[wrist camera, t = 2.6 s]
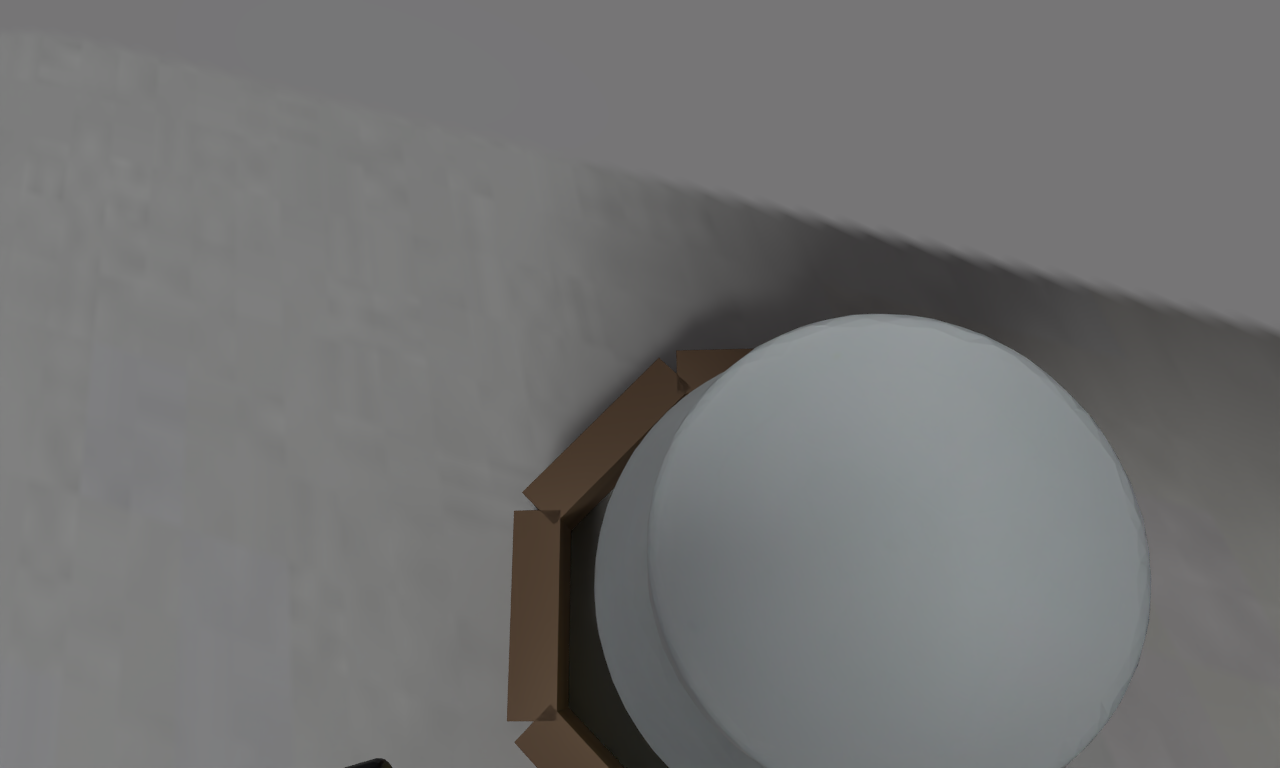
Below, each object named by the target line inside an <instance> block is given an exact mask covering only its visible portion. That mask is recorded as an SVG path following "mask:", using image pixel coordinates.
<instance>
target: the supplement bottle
mask: <svg viewBox="0 0 1280 768" xmlns="http://www.w3.org/2000/svg"><path fill="white" fill-rule="evenodd" d="M594 592H595V608H596V619H597V625H598V632H599V637H600V641H601V644H602V648H603V652H604V656H605V659H606V662H607V666H608V669H609V672H610V675H611V678H612V681H613V683H614V685H615V687H616V689H617V692H618V694H619V696H620V698H621V700H622V702H623V704H624V706H625V709H626V710H627V712H628V714H629V715H630V717H631V719H632V720H633V722H634V724H635V725H636V727H637V728H638V730H639V732H640V733H641V734H642V736H643V737H644V739H645V740H646V741H647V743H648V744H649V745H650V747H651V748H652V750H653V751H654V752H655V753H656V754H657V755H658V756H659V757H660V758H661V760H662V761H663V762H664V763H665V764H666V765H667V766H668V767H669V768H1064V767H1065V766H1066V765H1067V764H1069V763H1070V762H1071V761H1072V760H1073V759H1074V758H1075V757H1076V756H1077V755H1078V754H1080V753H1081V752H1082V751H1083V750H1084V749H1085V748H1086V747H1087V746H1088V745H1089V744H1090V743H1091V741H1092V740H1093V739H1094V738H1095V737H1096V735H1097V734H1098V733H1099V732H1100V731H1101V730H1102V728H1103V727H1104V726H1105V725H1106V723H1107V722H1108V721H1109V719H1110V718H1111V716H1112V715H1113V713H1114V712H1115V710H1116V708H1117V707H1118V705H1119V704H1120V702H1121V700H1122V698H1123V696H1124V694H1125V692H1126V690H1127V687H1128V685H1129V683H1130V681H1131V679H1132V677H1133V674H1134V672H1135V670H1136V668H1137V666H1138V662H1139V659H1140V655H1141V651H1142V648H1143V644H1144V640H1145V636H1146V633H1147V628H1148V623H1149V613H1150V597H1151V572H1150V555H1149V548H1148V542H1147V537H1146V532H1145V526H1144V520H1143V517H1142V514H1141V511H1140V508H1139V505H1138V503H1137V500H1136V497H1135V494H1134V491H1133V488H1132V485H1131V482H1130V480H1129V478H1128V477H1127V475H1126V473H1125V471H1124V469H1123V467H1122V465H1121V463H1120V461H1119V459H1118V457H1117V455H1116V453H1115V452H1114V450H1113V449H1112V447H1111V445H1110V444H1109V442H1108V441H1107V439H1106V437H1105V436H1104V434H1103V433H1102V431H1101V430H1100V429H1099V427H1098V426H1097V424H1096V423H1095V421H1094V420H1093V418H1092V417H1091V416H1090V415H1089V414H1088V413H1087V412H1086V411H1085V410H1084V409H1083V408H1082V407H1081V405H1080V404H1079V403H1078V402H1077V401H1076V400H1075V399H1074V398H1073V397H1072V396H1071V395H1070V394H1069V393H1068V392H1067V391H1066V390H1065V389H1064V388H1063V387H1062V386H1061V385H1060V384H1058V383H1057V382H1056V381H1055V380H1054V379H1053V378H1052V377H1051V376H1050V375H1048V374H1047V373H1046V372H1045V371H1043V370H1042V369H1041V368H1040V367H1038V366H1037V365H1036V364H1034V363H1033V362H1032V361H1030V360H1029V359H1027V358H1026V357H1024V356H1023V355H1021V354H1019V353H1018V352H1016V351H1014V350H1013V349H1011V348H1009V347H1007V346H1005V345H1003V344H1001V343H999V342H997V341H995V340H993V339H991V338H989V337H987V336H986V335H983V334H980V333H977V332H975V331H972V330H969V329H966V328H963V327H960V326H957V325H953V324H950V323H946V322H943V321H939V320H936V319H932V318H925V317H919V316H912V315H897V314H858V315H848V316H843V317H838V318H833V319H828V320H823V321H819V322H815V323H811V324H808V325H805V326H802V327H799V328H796V329H794V330H792V331H789V332H787V333H785V334H782V335H780V336H778V337H776V338H774V339H772V340H770V341H768V342H766V343H764V344H761V345H759V346H757V347H756V348H755V349H753V350H752V351H751V352H749V353H748V354H747V355H745V356H744V357H743V358H741V359H740V360H739V361H737V362H736V363H735V364H733V365H732V366H731V367H730V368H728V369H727V370H726V371H725V372H723V373H721V374H719V375H717V376H716V377H714V378H712V379H710V380H709V381H707V382H705V383H704V384H702V385H701V386H699V387H698V388H696V389H695V390H693V391H692V392H690V393H689V394H688V395H686V396H685V397H684V398H682V399H681V400H680V401H679V402H678V403H677V404H676V405H674V406H673V407H672V408H671V409H670V410H669V411H667V412H666V414H665V415H664V416H663V417H662V418H661V419H660V420H659V421H658V422H657V423H656V424H655V425H654V426H653V427H652V428H651V430H650V431H649V432H648V434H647V435H646V436H645V437H644V439H643V440H642V441H641V443H640V444H639V445H638V447H637V448H636V449H635V451H634V452H633V454H632V455H631V457H630V459H629V461H628V462H627V464H626V466H625V468H624V469H623V471H622V473H621V475H620V477H619V479H618V481H617V483H616V486H615V488H614V490H613V493H612V495H611V498H610V500H609V502H608V505H607V508H606V512H605V515H604V519H603V523H602V526H601V530H600V535H599V541H598V547H597V554H596V561H595V584H594Z"/></svg>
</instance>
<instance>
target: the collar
mask: <svg viewBox="0 0 1280 768" xmlns="http://www.w3.org/2000/svg"><path fill="white" fill-rule="evenodd" d="M752 350H753V349H721V350H681V351H676V357H677V374H676V373H675V372H674V371H673V370H672V369H671V368H670V367H669V366H667V365H666V364H665V363H664V362H663V361H662V360H661V359H660V358H658V359H657V360H656V361H655V362H654V363H653V364H652V365H651V366H650V367H649V368H648V369H647V370H646V371H645V372H644V373H643V374H642V375H641V376H640V377H639V378H638V379H637V380H636V381H635V382H634V383H633V384H632V385H631V386H630V387H629V388H628V389H627V390H626V391H625V392H624V393H623V394H622V395H621V396H620V397H619V398H618V399H617V400H616V401H615V402H614V403H613V404H612V405H611V406H610V407H609V408H608V409H606V410H605V411H604V412H603V413H602V414H601V415H600V416H599V417H598V418H597V419H596V420H595V421H594V422H593V423H592V424H591V425H590V426H589V427H588V428H587V429H586V430H585V431H584V432H583V433H582V434H581V435H580V436H579V437H578V438H577V439H576V440H575V441H574V442H573V443H572V444H571V445H570V446H569V447H568V448H567V449H566V450H565V451H564V452H563V453H562V454H561V455H560V456H559V457H558V458H557V459H556V460H555V461H554V462H553V463H552V464H551V465H550V466H549V467H548V468H547V469H546V470H545V471H543V472H542V473H541V474H540V475H539V476H538V477H537V478H536V479H535V480H534V481H533V482H532V483H531V484H530V485H529V486H528V487H527V488H526V489H525V490H524V491H523V492H522V493H523V494H524V495H525V496H526V497H527V498H528V499H529V500H530V501H531V502H532V503H533V504H534V505H535V507H536V508H537V509H538V510H527V511H514V529H513V559H512V588H511V618H510V647H509V677H508V706H507V721H534V722H533V723H532V724H531V725H530V726H529V727H528V728H527V730H526V731H525V732H524V733H523V734H522V735H521V736H520V737H519V738H518V739H517V740H516V741H515V744H516V745H517V746H518V747H519V748H520V749H521V750H522V751H523V752H524V754H525V755H526V756H527V757H528V758H529V759H530V760H531V761H532V763H533V764H534V765H535V766H536V767H537V768H624V767H623V766H622V765H621V764H620V762H619V761H618V760H617V759H616V758H615V757H614V756H613V755H612V754H611V753H610V752H609V751H608V750H607V748H606V747H605V746H604V745H603V744H602V743H601V742H600V741H599V740H598V739H597V738H596V737H595V735H594V734H593V733H592V732H591V731H590V730H589V729H588V728H587V727H586V726H585V725H584V724H583V723H582V721H581V720H580V719H579V718H578V717H577V716H576V715H575V714H574V713H573V712H572V711H571V710H570V709H569V707H568V702H569V634H570V566H571V531H572V530H573V529H574V528H575V527H576V526H577V525H578V524H579V523H580V522H581V521H582V519H583V518H584V517H585V516H586V515H587V514H588V513H589V512H590V511H591V510H592V509H593V508H594V507H595V506H596V505H597V504H598V503H599V502H600V501H601V500H602V499H603V498H604V497H605V496H606V495H607V494H608V493H609V492H610V491H611V490H612V489H613V488H614V487H615V486H616V483H617V481H618V479H619V477H620V475H621V473H622V471H623V469H624V468H625V466H626V464H627V462H628V461H629V459H630V457H631V455H632V454H633V452H634V451H635V449H636V448H637V447H638V445H639V444H640V443H641V441H642V440H643V439H644V437H645V436H646V435H647V434H648V432H649V431H650V430H651V428H652V427H653V426H654V425H655V424H656V423H657V422H658V421H659V420H660V419H661V418H662V417H663V416H664V415H665V414H666V412H667V411H669V410H670V409H671V408H672V407H673V406H674V405H676V404H677V403H678V402H679V401H680V400H681V399H682V398H684V397H685V396H686V395H688V394H689V393H690V392H692V391H693V390H695V389H696V388H698V387H699V386H701V385H702V384H704V383H705V382H707V381H709V380H710V379H712V378H714V377H716V376H717V375H719V374H721V373H723V372H725V371H726V370H727V369H728V368H730V367H731V366H732V365H733V364H735V363H736V362H737V361H739V360H740V359H741V358H743V357H744V356H745V355H747V354H748V353H749V352H751V351H752Z"/></svg>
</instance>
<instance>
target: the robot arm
mask: <svg viewBox="0 0 1280 768" xmlns="http://www.w3.org/2000/svg"><path fill="white" fill-rule="evenodd" d="M345 768H392V766H391V765H390V764H389V762H387V761H386V760H385V759H382V758H376V759H372V760H369V761H366V762H362V763H359V764H355V765H352V766H349V767H345Z"/></svg>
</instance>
